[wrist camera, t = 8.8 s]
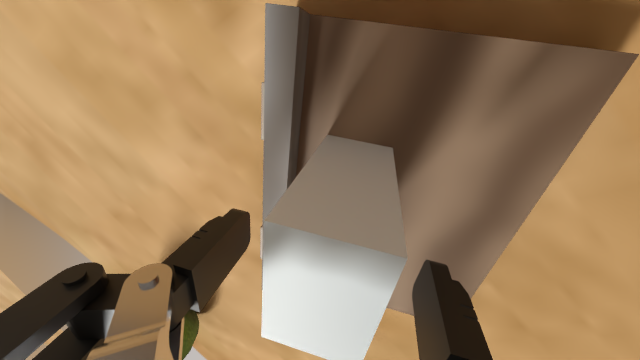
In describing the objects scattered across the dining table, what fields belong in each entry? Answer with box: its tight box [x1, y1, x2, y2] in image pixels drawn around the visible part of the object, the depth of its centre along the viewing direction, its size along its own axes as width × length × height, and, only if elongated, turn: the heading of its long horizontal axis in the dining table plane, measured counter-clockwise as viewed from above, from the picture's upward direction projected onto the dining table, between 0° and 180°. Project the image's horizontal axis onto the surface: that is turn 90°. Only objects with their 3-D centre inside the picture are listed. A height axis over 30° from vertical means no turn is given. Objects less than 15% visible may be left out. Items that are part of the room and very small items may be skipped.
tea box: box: [261, 135, 408, 360], centre depth 12 cm, size 6×4×9 cm
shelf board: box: [260, 3, 639, 316], centre depth 16 cm, size 16×20×4 cm
